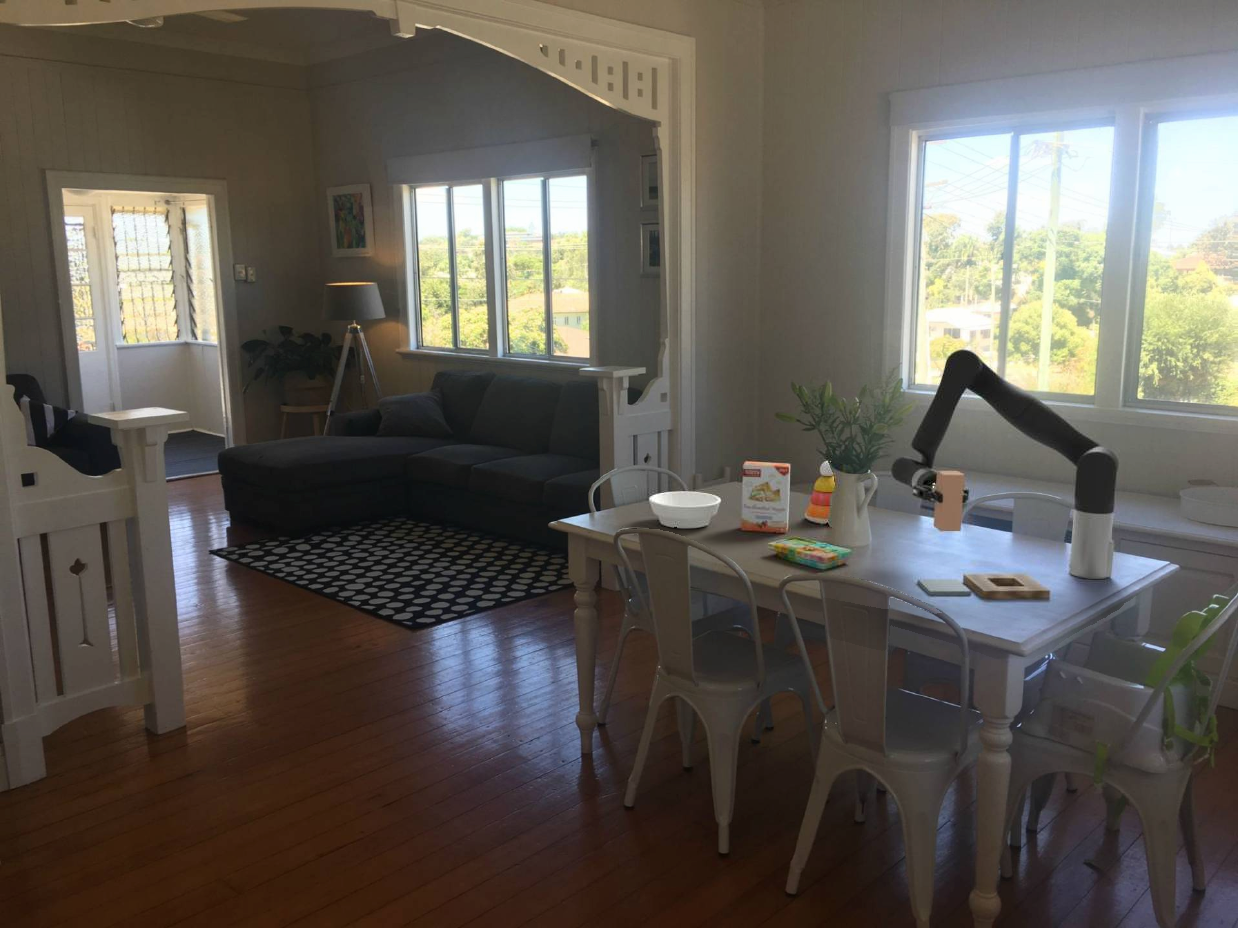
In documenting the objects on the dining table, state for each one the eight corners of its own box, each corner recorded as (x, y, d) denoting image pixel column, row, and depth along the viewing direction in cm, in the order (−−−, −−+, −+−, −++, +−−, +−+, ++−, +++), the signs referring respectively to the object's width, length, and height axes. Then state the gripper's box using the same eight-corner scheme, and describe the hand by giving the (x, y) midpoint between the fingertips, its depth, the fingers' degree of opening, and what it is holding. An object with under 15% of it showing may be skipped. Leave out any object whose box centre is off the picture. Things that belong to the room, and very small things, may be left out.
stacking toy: (838, 514, 329) (841, 456, 325) (858, 525, 315) (860, 464, 312) (797, 517, 326) (800, 457, 322) (815, 527, 312) (817, 465, 309)
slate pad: (956, 582, 255) (956, 579, 255) (970, 595, 245) (971, 591, 245) (917, 583, 255) (917, 579, 255) (930, 595, 245) (930, 591, 245)
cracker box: (740, 531, 307) (742, 464, 303) (743, 526, 313) (744, 460, 309) (787, 534, 304) (789, 466, 300) (788, 529, 310) (790, 462, 306)
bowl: (717, 516, 327) (718, 491, 325) (723, 533, 305) (723, 506, 303) (648, 516, 327) (648, 491, 326) (648, 533, 305) (649, 506, 304)
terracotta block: (953, 526, 250) (957, 470, 247) (960, 531, 245) (964, 474, 242) (933, 526, 250) (937, 470, 247) (940, 531, 245) (943, 474, 242)
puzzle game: (824, 555, 264) (767, 540, 279) (823, 572, 265) (766, 556, 280) (852, 547, 272) (794, 533, 287) (851, 564, 273) (794, 549, 288)
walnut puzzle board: (1025, 581, 256) (1026, 573, 256) (1049, 598, 243) (1050, 590, 242) (963, 581, 256) (963, 574, 256) (983, 598, 242) (984, 590, 242)
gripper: (903, 470, 259) (924, 483, 242) (958, 470, 259) (983, 483, 243) (902, 498, 260) (922, 514, 244) (957, 498, 261) (981, 514, 244)
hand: (952, 498), depth 243 cm, fingers closed on terracotta block, 5 cm apart
